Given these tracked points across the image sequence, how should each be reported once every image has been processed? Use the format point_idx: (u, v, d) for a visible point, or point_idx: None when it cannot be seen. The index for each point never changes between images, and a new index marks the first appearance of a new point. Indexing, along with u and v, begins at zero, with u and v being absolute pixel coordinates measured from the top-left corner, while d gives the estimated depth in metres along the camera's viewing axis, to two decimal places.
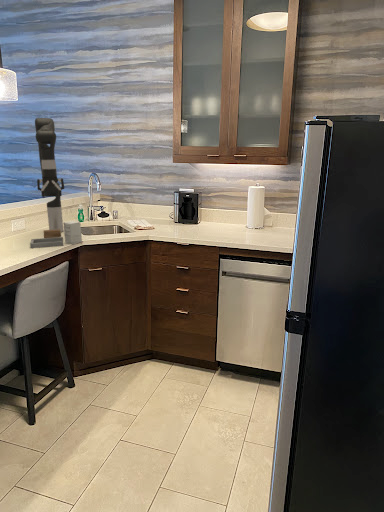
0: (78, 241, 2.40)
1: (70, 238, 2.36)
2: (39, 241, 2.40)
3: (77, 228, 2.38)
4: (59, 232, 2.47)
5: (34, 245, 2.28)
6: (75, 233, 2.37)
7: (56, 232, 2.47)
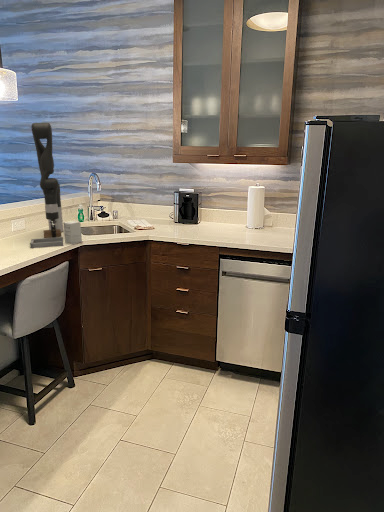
0: (78, 241, 2.40)
1: (70, 238, 2.36)
2: (39, 241, 2.40)
3: (77, 228, 2.38)
4: (59, 232, 2.47)
5: (34, 245, 2.28)
6: (75, 233, 2.37)
7: (56, 232, 2.47)
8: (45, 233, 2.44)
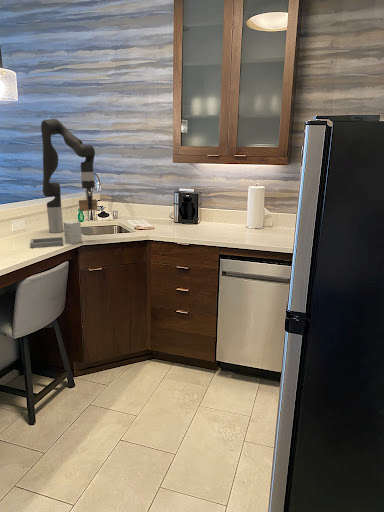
0: (78, 241, 2.40)
1: (70, 238, 2.36)
2: (39, 241, 2.40)
3: (77, 228, 2.38)
4: (95, 201, 2.38)
5: (34, 245, 2.28)
6: (75, 233, 2.37)
7: (92, 201, 2.37)
8: (81, 202, 2.35)
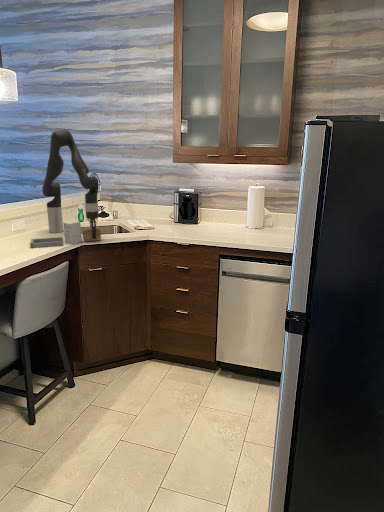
0: (78, 241, 2.40)
1: (70, 238, 2.36)
2: (39, 241, 2.40)
3: (77, 228, 2.38)
4: (99, 231, 2.43)
5: (34, 245, 2.28)
6: (75, 233, 2.37)
7: (96, 231, 2.42)
8: (85, 233, 2.40)
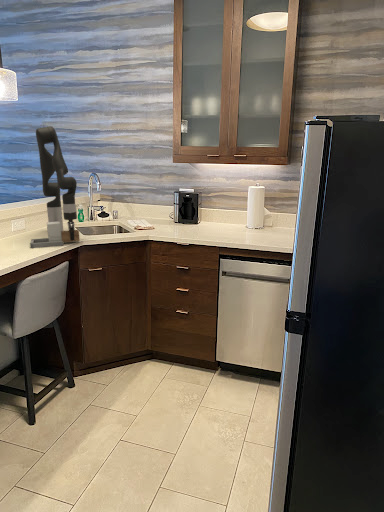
0: None
1: (48, 238, 2.35)
2: (39, 241, 2.40)
3: (56, 229, 2.34)
4: (77, 232, 2.39)
5: (34, 245, 2.28)
6: (53, 234, 2.34)
7: (74, 233, 2.38)
8: (63, 234, 2.36)
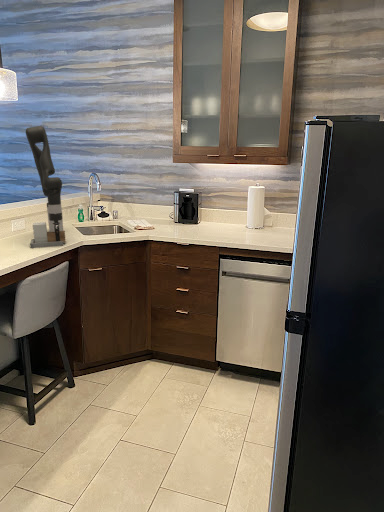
0: None
1: (34, 239, 2.33)
2: None
3: (41, 230, 2.32)
4: (63, 234, 2.36)
5: (34, 245, 2.28)
6: (39, 235, 2.32)
7: (60, 234, 2.36)
8: (48, 235, 2.34)
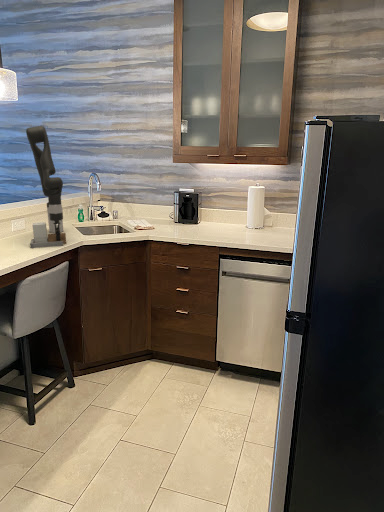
0: None
1: (34, 239, 2.33)
2: None
3: (41, 230, 2.32)
4: (64, 236, 2.37)
5: (34, 245, 2.28)
6: (39, 235, 2.32)
7: (61, 236, 2.36)
8: (49, 237, 2.34)
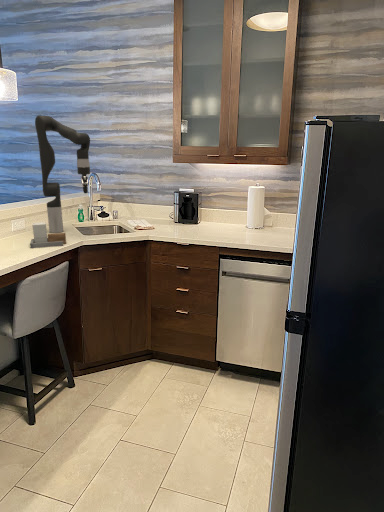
0: None
1: (34, 239, 2.33)
2: None
3: (41, 230, 2.32)
4: (63, 236, 2.37)
5: (34, 245, 2.28)
6: (39, 235, 2.32)
7: (61, 236, 2.36)
8: (49, 237, 2.34)
